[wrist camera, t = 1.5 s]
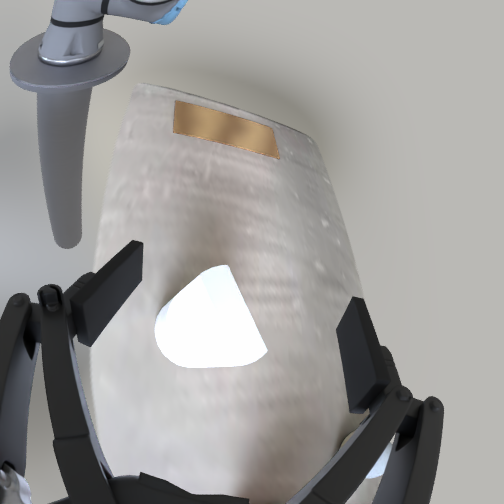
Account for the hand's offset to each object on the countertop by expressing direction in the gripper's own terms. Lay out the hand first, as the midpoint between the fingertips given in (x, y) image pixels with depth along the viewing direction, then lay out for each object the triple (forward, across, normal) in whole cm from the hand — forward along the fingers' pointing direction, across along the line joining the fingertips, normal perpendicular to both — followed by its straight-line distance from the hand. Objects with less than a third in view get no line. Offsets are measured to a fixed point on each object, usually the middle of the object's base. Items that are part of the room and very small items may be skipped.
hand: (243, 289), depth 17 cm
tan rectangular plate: (+41, -10, +6) cm, 43 cm away
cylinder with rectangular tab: (+11, -5, -16) cm, 20 cm away
